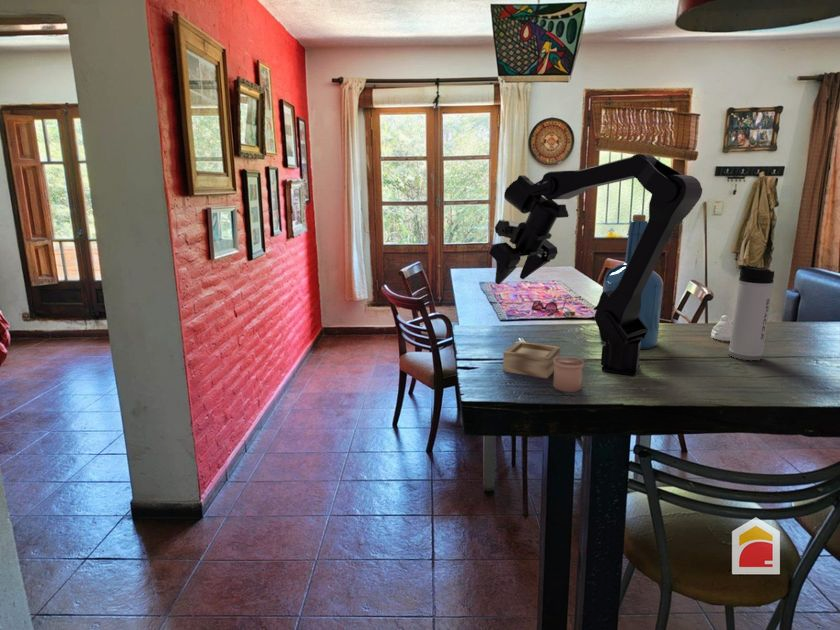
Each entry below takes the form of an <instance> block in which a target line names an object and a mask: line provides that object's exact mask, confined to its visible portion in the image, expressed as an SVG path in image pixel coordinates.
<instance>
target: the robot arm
mask: <svg viewBox="0 0 840 630" xmlns="http://www.w3.org/2000/svg"><path fill="white" fill-rule="evenodd" d="M632 179H636V180H637V181H638V182H639V184H640V185H641V186H642V188H644V189H645V190H646V191H648V193H650V194H651V196H650V200H649V203H648V220H647V225H646V227H645V229H644V231H643V234H642V236H641V238H640V240H639V242H638V244H637V246H636V248H635V250H634V252H633V254H632V257H631V259H630V261H629V263H628V265H627V267H626V269H625V271H624V273H623V275H622V278H621V280H620V282H619V284H618V286H617V287H616V288H615V289H614V290H610V291H605V292H603V291H602V292H601V294H600V296H599V301H598V303H597V305H596V306H594V308H593V310H594V311H595V313H594V318H593V319H594V321H595V323H596V326H597V328H598V331H599V332H600V336H601V340H602V341H603V343H604V342H606V343H604V344H603V345H602V346H601V357H600V365H601V371H602V372H606V373H607V372H609V373H614V374H620V375H621V374H622V375H627V376H636V375H637V374H638V372H639V369H640V367H641V364H640V353H641V349H640V345H641V340H640V339H644V338H645V337H646V335H647V333H648V328H647V327H646V326H645V324H644V323H643V322H642V320H641V319H640V318H639V316H638V315H639V312H640V309H641V294H642V291H643V289H644V287H645V285H646V283H647V281H648V279H649V277H650V275H651V273H652V271H654V269H655V267H656V266H657V264H658V261H659V259H660V257H661V256H662V253H663V252H664V250H665V248H666V246H667V244H668V242H669V240H670V238H671V236H672V234H673V232H674V230H675V228H676V227H677V226H678V225H679V224H680V223H681V222H682V221H683V220H684V219H685V218H686V217H687V216H688V215H689V214H690V212H691V211H692V210H693V209H694V207H695V206H696V204H697V203H698V202H699V201H700V199H701V197H702V194H703V188H702V185H701V182H700V181H699V180H698V179H697V178H696V177H695V176H693V175H686V174H683V173H681V172H679V171H678V170H676V169H675V168H672V167H671V166H669V165H667V164H665V163H663V162H662V161H660V160H659V159H658V158H656V156H654V155H653V154H646V153H635V154H633V155H632V156H628V157H626V158H620V159H617V160H614V161H610V162H606V163H603V164H599V165H595V166H591V167H587V168H582V169H580V170H579V169H578V170H555V171H548V172H546V173H544V175H542V178H541V180H539V181H536V182H533V181H532V180H530V178H529V177H528V176H527V175H518V177H517V179H515V180H514V181H512V182H511V183H510V185H508V187H506V189H505V191H504V195H503V196H504V199H505V201H506V202H508V203H509V204H510V205H511V206H513V207H514V208H515V209H517V210H518V211H519V212H520V213H522V214H528V213H529V214H528V216H527V219H526V220H525V222H517V221H514V220H512V221H511V220H505V219H498V221H497V223H496V224H495V227H494V232H495V233H496V234H497V236H498V237H504V238H507V239H509V242H510V243H511V244H512V245H513V244H514V247H512V246H511V245H510V244H509V243H507V242H500V243H498V242H497V243H493V244H491V246H490V248H489V251H488V254H489V255H490V256H491V257H492V258H493V259H494V260H495V263H496V264H495V265H496V267H495V278H494V279H495V281H494V282H495V284H496V285H500V284H501V283H503V282H504V281H505V280H506V279H507V278H508V277H509V276H510V275H511V274H512V273H513V272H514V270H516V269H517V265H518V264H519V263H520V261H521V258H524V257H526V260H525V261H524V265H522V268H521V271H520V275H519V278H520V279H521V280H525V279H526V278H528V277H529V276H530V275H531V274H533V273H534V272H535V271H537V270H539V269H540V268H541V267H543V266H545V265H546V264H548V263H550V262H551V260H552V261H553V260H555V258H556V257H557V255H558V253H559V252H558V248H557V246H556V245H555V244H553V243H552V242H550V239H551V238H552V236H553V234H551V233H550V232H551V230H552V228H553V226H554V224H555V223H556V221H557V219H558V218H569V216H570V215H569V212H568V210H567V205H566V204H563V203H562V204H559V203H557V201H554V200H570V199H572V198H575V197H577V196H579V195H581V194H583V193H585V192H586V191H587V190H589V189H593V188H597V187H601V186H606V185H609V184H614V183H619V182H623V181H629V180H632ZM601 340H600V341H601ZM602 341H601V342H602Z"/></svg>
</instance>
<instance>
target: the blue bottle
mask: <svg viewBox="0 0 840 630" xmlns="http://www.w3.org/2000/svg"><path fill="white" fill-rule="evenodd" d="M646 217H647V216H646V215H645V214H633V216H632V220H630V222H629V226H628V230H627V234H626V235H627V236H628V237H627V244H626V251H625V252H626V253H625V258H624V259H625V260H624V263H621V264H619V265H617V266H615V267H613V268H611V269H610V270H609V271H608V272H607V273H606V274H605V275H604V280H603V284H602V292H605V291H610V290H614V289H615V288H616V287H617V286H618V284H619V282H620V280H621V278H622V275H623V273H624V271H625V269H626V267H627V265H628V263H629V261H630V259H631V257H632V254H633V252H634V250H635V248H636V246H637V244H638V242H639V240H640V238H641V236H642V234H643V231H644V229H645V227H646V225H647V223H648V220H646ZM663 291H664V282H663V279H662V277H661V276H660V274H658V273H657V272H656V271H654V270H653V271H652V273H651V275H650V277H649V279H648V281H647V283H646V285H645V287H644V289H643V291H642V294H641V309H640V312H639V315H638V316H639V318H640V319H641V320H642V322H643V323H644V324H645V326H646V327H647V328H648V333H647V335H646V337H645V338H644V339H640V340H641V345H640V350H647V349H650V348H653V347H655V346H657V344H658V341H659V340H658V339H659V332H660V331H659V329H660V321H661V320H660V319H661V310H662V301H663V293H664V292H663ZM598 338H599V340H600V341H601V342H603V341H602V340H601V336H600V332H599V333H598ZM603 343H604V344H605V343H606V342H603Z"/></svg>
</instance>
